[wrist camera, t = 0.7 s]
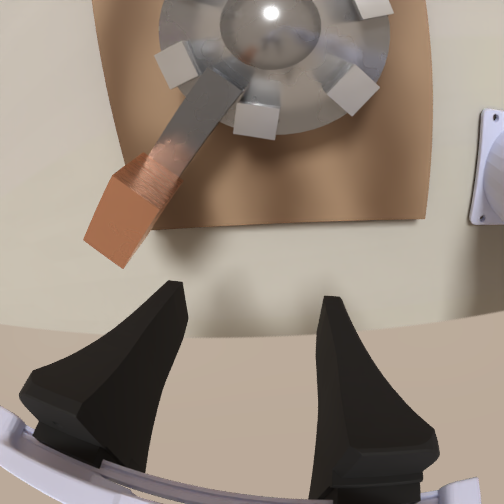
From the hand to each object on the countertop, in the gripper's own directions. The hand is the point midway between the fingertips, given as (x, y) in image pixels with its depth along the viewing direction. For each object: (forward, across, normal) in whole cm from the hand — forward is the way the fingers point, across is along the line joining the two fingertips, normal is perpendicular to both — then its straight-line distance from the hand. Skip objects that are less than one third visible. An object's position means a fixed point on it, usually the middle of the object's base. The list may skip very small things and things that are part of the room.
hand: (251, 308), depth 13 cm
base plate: (+9, +1, -10) cm, 14 cm away
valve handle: (+8, +2, -8) cm, 11 cm away
